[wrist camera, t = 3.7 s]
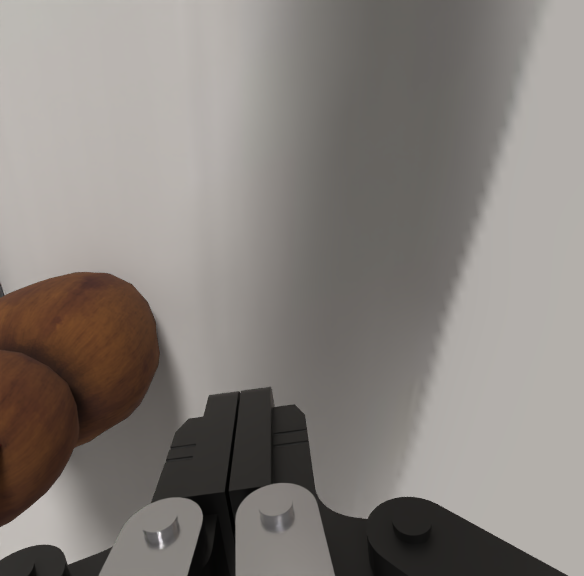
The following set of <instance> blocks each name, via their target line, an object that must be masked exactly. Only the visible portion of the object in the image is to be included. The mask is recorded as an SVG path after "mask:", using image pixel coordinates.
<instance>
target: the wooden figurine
mask: <svg viewBox="0 0 584 576" xmlns="http://www.w3.org/2000/svg"><path fill="white" fill-rule="evenodd" d="M159 355H160V352H159V346H158V340H157V334H156V322H155V319H154V317H153V314H152V312H151V309H150V307H149V304H148V302H147V301H146V300H145V298H144V297H143V296H142V295H141V294H140V293H139V292H138V291H137V289H136V288H135V287H134V286H133V285H132V284H130V283H128V282H126V281H124V280H122V279H120V278H118V277H115V276H113V275H111V274H108V273H91V272H77V273H71V274H67V275H63V276H58V277H54V278H50V279H47V280H44V281H41V282H37V283H35V284H32V285H29V286H27V287H24V288H22V289H19V290H16V291H14V292H11V293H9V294H7V295H5V296H3V297H1V298H0V527H1V526H3V525H5V524H7V523H9V522H11V521H12V520H14V519H15V518H16V517H17V516H19V515H20V514H21V513H23V512H24V511H25V510H27V509H28V508H29V507H30V506H31V505H32V504H34V503H35V502H36V501H37V500H38V499H39V498H41V497H42V496H43V495H44V494H45V493H46V492H47V491H48V490H49V489H50V488H51V486H52V485H53V484H54V483H55V481H56V480H57V479H58V477H59V476H60V475H61V473H62V471H63V469H64V468H65V466H66V464H67V462H68V461H69V458H70V456H71V454H72V452H73V449H74V448H75V447H77V446H80V445H82V444H85V443H87V442H90V441H91V440H93V439H94V438H95V437H97V436H98V435H100V434H101V433H103V432H104V431H106V430H108V429H109V428H111V427H113V426H114V425H116V424H118V423H119V422H121V421H123V420H125V419H126V418H128V417H129V416H130V415H131V414H132V412H133V411H134V410H135V409H136V408H137V407H138V406H139V405H140V404H141V402H142V400H143V398H144V396H145V394H146V392H147V390H148V388H149V386H150V383H151V381H152V379H153V377H154V374H155V372H156V370H157V367H158V363H159Z"/></svg>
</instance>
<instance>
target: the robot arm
mask: <svg viewBox="0 0 584 576" xmlns="http://www.w3.org/2000/svg"><path fill="white" fill-rule="evenodd" d="M0 576H568V575H566V574H564V573H562V572H560V571H558V570H557V569H555V568H553V567H551V566H549V565H547V564H546V563H544V562H542V561H540V560H538V559H536V558H534V557H532V556H531V555H529V554H527V553H525V552H523V551H522V550H520V549H518V548H516V547H514V546H513V545H511V544H509V543H507V542H505V541H503V540H502V539H500V538H498V537H496V536H494V535H493V534H491V533H489V532H487V531H485V530H483V529H481V528H480V527H478V526H476V525H474V524H472V523H471V522H469V521H467V520H465V519H463V518H461V517H460V516H458V515H456V514H454V513H452V512H450V511H449V510H447V509H445V508H443V507H441V506H439V505H438V504H436V503H433V502H431V501H429V500H425V499H422V498H415V497H399V498H394V499H391V500H388V501H386V502H384V503H382V504H380V505H379V506H377V507H376V508H375V509H374V510H373V511H372V513H371V514H370V516H369V518H368V519H362V518H354V517H349V516H345V515H341V514H338V513H336V512H334V511H332V510H331V509H329V508H328V507H326V506H325V505H324V504H323V503H322V502H321V501H320V499H319V498H318V496H317V494H316V490H315V485H314V477H313V470H312V463H311V456H310V448H309V441H308V434H307V427H306V419H305V415H304V414H303V413H302V412H301V411H300V409H299V408H298V407H297V406H296V405H295V404H294V405H287V406H279V407H274V400H273V394H272V389H271V387H267V388H259V389H252V390H244V391H241V393H240V392H239V391H237V392H230V393H222V394H215V395H209V397H208V401H207V405H206V409H205V412H204V416H203V417H198V418H190V419H188V420H187V421H186V422H185V423H184V424H183V425H182V426H181V427H180V428H179V429H178V431H177V432H176V433H175V436H174V439H173V442H172V445H171V450H169V453H168V456H167V459H166V463H165V465H164V468H163V470H162V473H161V476H160V479H159V482H158V485H157V488H156V491H155V493H154V496H153V499H152V502H151V504H149V505H147V506H145V507H143V508H142V509H140V510H139V511H138V512H136V513H135V514H134V515H133V516H132V517H131V518H130V519H129V520H128V521H127V522H126V523H125V524H124V526H123V528H122V529H121V531H120V533H119V535H118V537H117V539H116V541H115V543H114V545H113V547H111V548H109V549H107V550H105V551H103V552H100V553H98V554H95V555H93V556H90V557H87V558H85V559H82V560H80V561H77V562H74V563H72V564H69V565H68V564H67V561H66V558H65V555H64V553H63V552H62V551H61V550H60V549H59V548H57V547H56V546H52V545H36V546H32V547H28V548H25V549H22V550H19V551H17V552H15V553H12V554H11V555H9V556H7V557H5V558H3V559H2V560H0Z"/></svg>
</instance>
